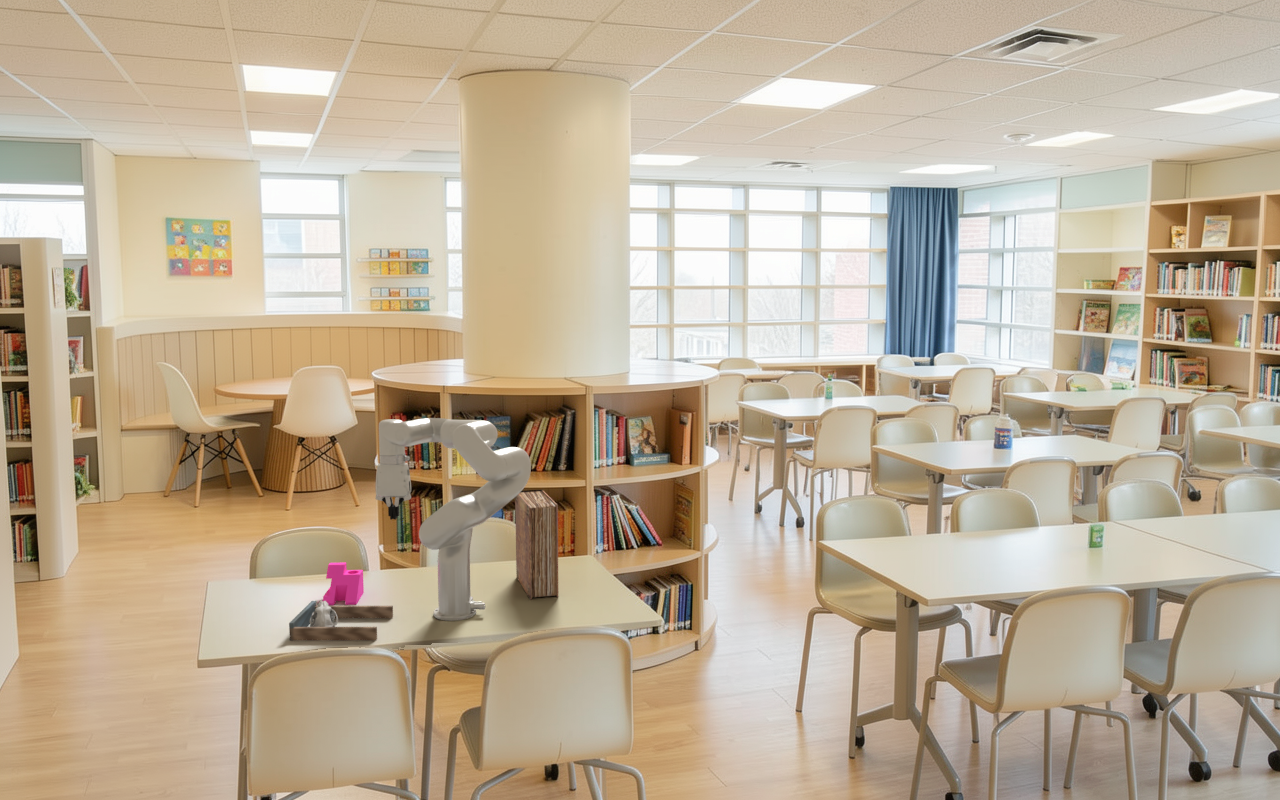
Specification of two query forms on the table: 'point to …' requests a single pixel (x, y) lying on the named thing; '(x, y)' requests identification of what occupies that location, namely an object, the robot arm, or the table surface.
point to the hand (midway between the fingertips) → (394, 518)
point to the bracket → (344, 584)
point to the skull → (323, 616)
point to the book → (537, 543)
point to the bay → (303, 632)
